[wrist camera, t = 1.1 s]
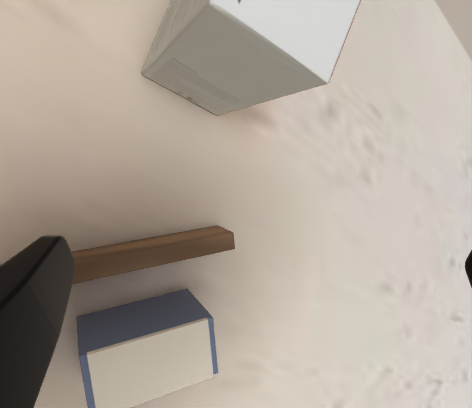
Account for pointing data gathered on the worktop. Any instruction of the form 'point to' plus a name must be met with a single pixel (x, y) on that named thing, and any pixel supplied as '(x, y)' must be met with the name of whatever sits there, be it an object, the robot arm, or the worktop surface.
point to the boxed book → (145, 350)
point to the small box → (247, 49)
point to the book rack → (150, 252)
